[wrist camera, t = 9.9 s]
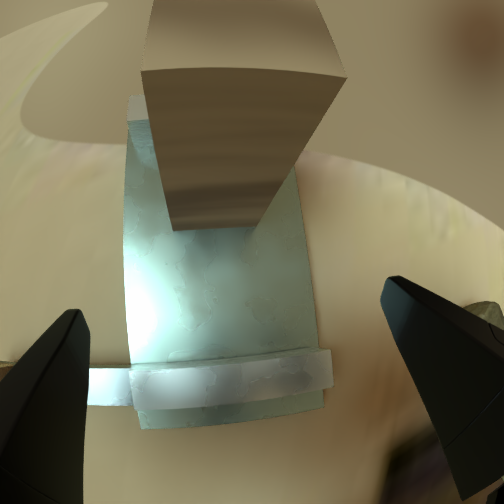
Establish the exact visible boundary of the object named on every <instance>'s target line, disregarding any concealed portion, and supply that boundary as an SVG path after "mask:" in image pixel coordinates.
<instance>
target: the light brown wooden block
mask: <svg viewBox="0 0 504 504" xmlns="http://www.w3.org/2000/svg"><path fill="white" fill-rule="evenodd" d="M16 363H17V362H7V361H0V381H1V380H2V378H3V377H4V376H5V375H6V374H7V373H8V372H9V370H10V369H11V368H12V367H13V366H14V365H15V364H16ZM331 387H334V380H333V368H332V357H331V350H330V349H323V348H317V347H309V348H302V349H296V350H289V351H282V352H275V353H267V354H260V355H251V356H243V357H234V358H224V359H213V360H202V361H189V362H174V363H156V364H129V365H90V366H89V392H88V401H87V405H113V406H131V405H134V410H162V409H181V408H195V407H207V406H218V405H227V404H236V403H244V402H252V401H259V400H266V399H272V398H279V397H285V396H290V395H296V394H301V393H307V392H312V391H317V390H322V389H326V388H331Z"/></svg>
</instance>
